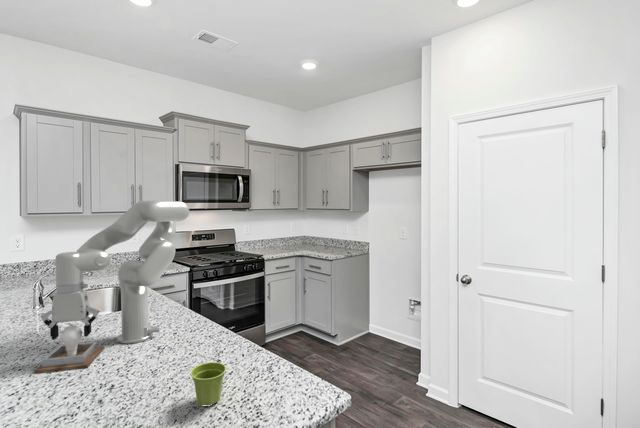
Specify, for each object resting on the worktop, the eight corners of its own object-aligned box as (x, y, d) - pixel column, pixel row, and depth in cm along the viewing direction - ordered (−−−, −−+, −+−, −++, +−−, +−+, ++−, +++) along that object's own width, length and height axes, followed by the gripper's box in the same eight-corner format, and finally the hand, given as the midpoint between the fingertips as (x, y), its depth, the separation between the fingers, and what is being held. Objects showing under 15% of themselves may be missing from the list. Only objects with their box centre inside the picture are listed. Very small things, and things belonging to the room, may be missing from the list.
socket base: (104, 348, 126) (104, 346, 126) (87, 367, 112) (87, 364, 112) (57, 353, 123) (57, 350, 123) (34, 373, 108) (34, 370, 108)
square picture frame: (98, 348, 125) (97, 341, 124) (84, 363, 113) (83, 356, 113) (60, 351, 121) (60, 345, 121) (42, 367, 110) (42, 360, 110)
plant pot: (230, 390, 98) (229, 361, 98) (221, 410, 89) (221, 378, 89) (197, 391, 98) (197, 362, 98) (185, 411, 89) (185, 379, 88)
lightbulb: (79, 351, 122) (79, 321, 121) (85, 356, 118) (84, 325, 117) (58, 357, 117) (58, 326, 116) (63, 363, 113) (63, 331, 113)
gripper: (102, 283, 122) (103, 330, 123) (46, 287, 118) (48, 335, 118) (94, 289, 115) (95, 338, 115) (34, 292, 111) (35, 343, 111)
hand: (71, 336), depth 117 cm, fingers open, 9 cm apart
